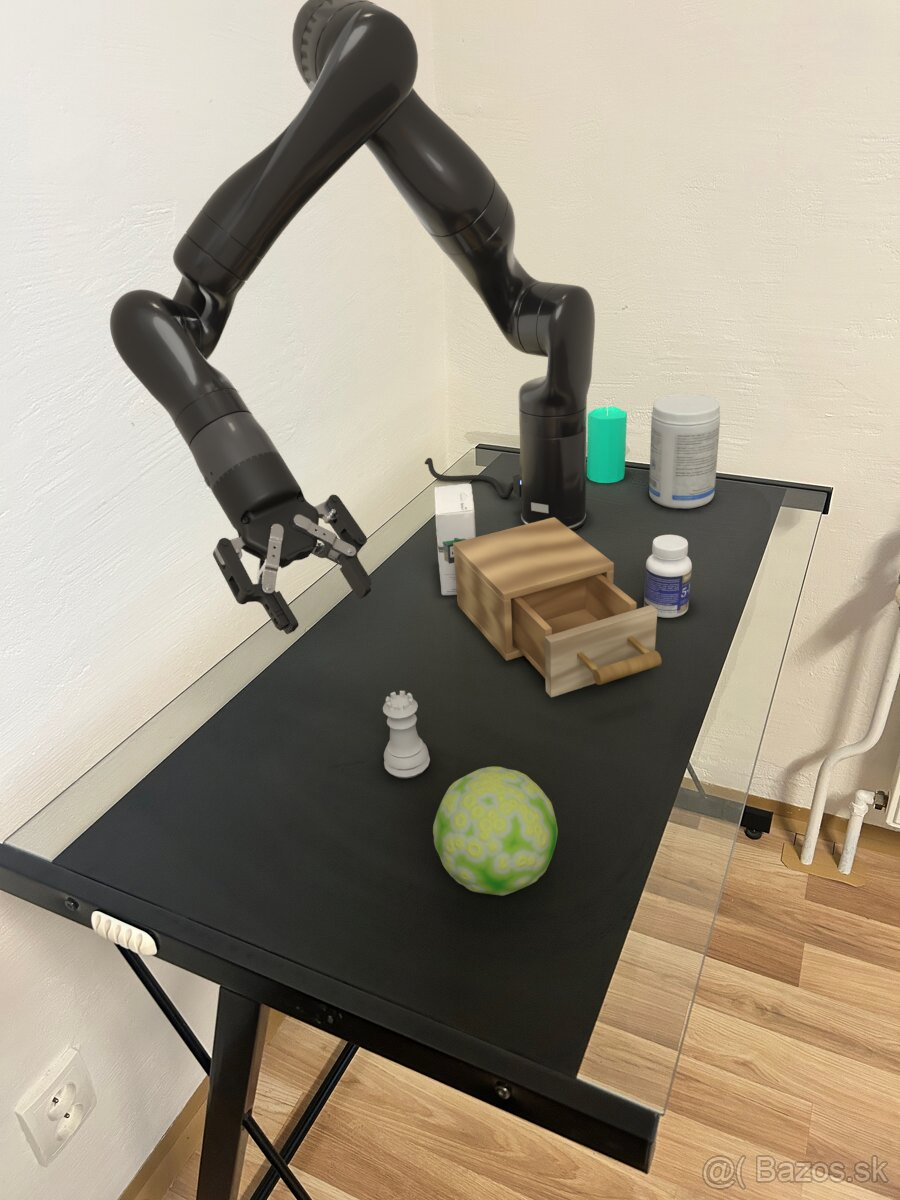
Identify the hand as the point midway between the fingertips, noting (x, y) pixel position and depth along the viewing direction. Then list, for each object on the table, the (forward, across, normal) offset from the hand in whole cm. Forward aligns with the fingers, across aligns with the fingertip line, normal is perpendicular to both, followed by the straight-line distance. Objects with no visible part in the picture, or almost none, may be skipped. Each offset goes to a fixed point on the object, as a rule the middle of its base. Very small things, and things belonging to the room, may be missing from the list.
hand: (330, 612), depth 84 cm
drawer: (+17, +24, +1) cm, 29 cm away
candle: (-4, +67, +24) cm, 71 cm away
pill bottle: (+18, +40, +2) cm, 44 cm away
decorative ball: (+28, -3, -8) cm, 29 cm away
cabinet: (+10, +28, +10) cm, 31 cm away
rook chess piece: (+16, 0, +3) cm, 17 cm away
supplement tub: (+6, +67, +14) cm, 69 cm away
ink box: (0, +28, +19) cm, 34 cm away
